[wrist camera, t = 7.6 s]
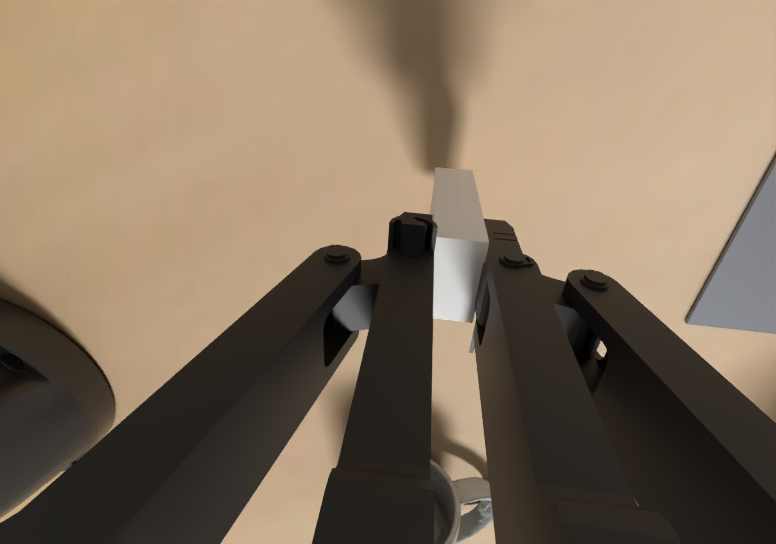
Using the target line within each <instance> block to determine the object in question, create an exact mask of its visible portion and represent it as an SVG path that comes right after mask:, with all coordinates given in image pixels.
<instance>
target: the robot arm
mask: <svg viewBox="0 0 776 544" xmlns="http://www.w3.org/2000/svg"><path fill="white" fill-rule="evenodd" d="M517 241H518V240H517V237H516V236H515V232H514V229H513V227H512V226H510V225H509V224H508V223H507V222H506V221H502V220H491V219H484V218H483V214H482V209H481V205H480V201H479V196H478V192H477V188H476V184H475V179H474V175H473V171H472V170H461V169H450V168H439V167H436V168H435V177H434V185H433V193H432V201H431V209H430V215H429V214H419V213H409V212H404V213H403V214H401V215H400V216H397V217H395V218H393V219H392V220H391V221H390V222H389V237H388V250H387V254H386V255H385V256H383V257H380V258H377V259H371V260H361V255H360V253H359V252H358V251H356V250H355V249H353V248H350V247H347V246H341V245H335V246H334V245H330V246H327V247H323V248H320V249H318V250H317V251H315V252H314V253H313V254H312V255H310V256H309V257H308V258H307V259H306V260H305V261H304V262H303V263H301V264H300V265H299V266H298V267H297V268H296V269H295V270H293V271H292V272H291V273H290V274H289V275H288V276H287V277H285V278H284V279H283V280H282V281H281V282H280V283H279V284H278V285H276V286H275V287H274V288H273V289H272V290H271V291H270V292H268V293H267V294H266V295H265V296H264V297H263V298H262V299H260V300H259V301H258V302H257V303H256V304H255V305H254V306H253V307H251V308H250V309H249V310H248V311H247V312H246V313H245V314H243V315H242V316H241V317H240V318H239V319H238V320H237V321H235V322H234V323H233V324H232V325H231V326H230V327H229V328H228V329H226V330H225V331H224V332H223V333H222V334H221V335H220V336H218V337H217V338H216V339H215V340H214V341H213V342H212V343H210V344H209V345H208V346H207V347H206V348H205V349H204V350H203V351H201V352H200V353H199V354H198V355H197V356H196V357H195V358H193V359H192V360H191V361H190V362H189V363H188V364H187V365H185V366H184V367H183V368H182V369H181V370H180V371H179V372H177V373H176V374H175V375H174V376H173V377H172V378H171V379H170V380H168V381H167V382H166V383H165V384H164V385H163V386H162V387H160V388H159V389H158V390H157V391H156V392H155V393H154V394H152V395H151V396H150V397H149V398H148V399H147V400H146V401H145V402H143V403H142V404H141V405H140V406H139V407H138V408H137V409H135V410H134V411H133V412H132V413H131V414H130V415H129V416H127V417H126V418H125V419H124V420H123V421H122V422H121V423H120V424H118V425H117V426H116V427H115V428H114V429H113V430H112V431H110V432H109V433H108V434H107V435H106V433H107V432H108V431H109V430H110V428H111V426H112V425H113V422H114V418H115V404H114V399H113V396H112V393H111V391H110V388H109V386H108V384H107V382H106V381H105V379H104V377H103V376H102V374H101V373H100V371H99V370H98V369H97V367H96V366H95V365H94V364H93V362H92V361H91V360H90V359H89V358H88V357H87V356H86V355H85V354H84V353H83V352H82V351H81V350H80V349H79V348H78V347H77V346H76V345H75V344H74V343H73V342H71V341H70V340H69V339H68V338H67V337H65V336H64V335H63V334H61V333H60V332H59V331H57V330H56V329H54V328H53V327H52V326H50V325H49V324H47V323H45V322H44V321H42V320H41V319H39V318H37V317H35V316H34V315H32V314H30V313H28V312H26V311H24V310H22V309H20V308H18V307H16V306H14V305H11V304H9V303H7V302H4V301H1V300H0V518H2V517H3V516H4V515H6V514H7V513H8V512H10V511H11V510H13V509H14V508H15V507H17V506H18V505H19V504H21V503H22V502H23V501H25V500H26V499H27V498H29V497H30V496H31V495H32V494H34V493H35V492H36V491H37V490H39V489H40V488H41V487H42V486H44V485H45V484H46V483H48V482H49V481H50V480H51V479H53V478H54V477H55V476H56V475H58V474H59V473H60V472H61V471H65V470H66V471H65V472H64V473H63V474H62V475H60V476H59V477H58V478H57V479H56V480H55V481H54V482H52V483H51V484H50V485H49V486H48V487H47V488H46V489H45V490H43V491H42V492H41V493H40V494H39V495H38V496H37V497H35V498H34V499H33V500H32V501H31V502H30V503H29V504H27V505H26V506H25V507H24V508H23V509H22V510H21V511H19V512H18V513H16V514H14V515H13V516H11V517H10V518H8V519H6V520H5V521H3V522H1V523H0V544H220V543H221V542H222V540H223V539H224V537H225V536H226V534H227V533H228V531H229V530H230V528H231V527H232V525H233V524H234V522H235V521H236V519H237V518H238V516H239V515H240V513H241V512H242V510H243V509H244V507H245V506H246V504H247V503H248V501H249V500H250V498H251V497H252V495H253V494H254V492H255V491H256V489H257V488H258V486H259V485H260V483H261V482H262V480H263V479H264V477H265V476H266V474H267V473H268V471H269V470H270V468H271V467H272V465H273V464H274V462H275V461H276V459H277V458H278V456H279V455H280V453H281V452H282V450H283V449H284V447H285V446H286V444H287V443H288V441H289V440H290V438H291V437H292V435H293V434H294V432H295V431H296V429H297V428H298V426H299V425H300V423H301V422H302V420H303V419H304V417H305V416H306V414H307V413H308V411H309V410H310V408H311V407H312V405H313V404H314V402H315V401H316V399H317V398H318V396H319V395H320V393H321V392H322V390H323V389H324V387H325V386H326V384H327V383H328V381H329V380H330V378H331V377H332V375H333V374H334V372H335V371H336V369H337V368H338V366H339V365H340V363H341V362H342V360H343V359H344V357H345V356H346V354H347V353H348V351H349V350H350V348H351V347H352V345H353V344H354V342H355V341H356V339H357V337H358V334H359V330H365V329H369V332H368V336H367V340H366V345H365V349H364V353H363V358H362V362H361V366H360V370H359V375H358V379H357V383H356V388H355V392H354V396H353V401H352V405H351V409H350V414H349V418H348V422H347V426H346V431H345V435H344V439H343V444H342V448H341V452H340V457H339V460H338V464H337V466H336V468H332V471H331V473H330V475H329V478H328V482H327V485H326V489H325V493H324V497H323V501H322V505H321V509H320V513H319V517H318V521H317V525H316V529H315V533H314V537H313V541H312V544H434V486H433V482H432V481H431V479H430V452H431V398H432V345H433V318H436V319H445V320H453V321H462V322H471V323H472V322H473V317H474V312H475V311H476V323H475V327H474V332H473V337H472V341H471V346H470V351H469V353H473V351H474V348H475V353H476V362H477V371H478V381H479V390H480V400H481V409H482V418H483V428H484V437H485V446H486V456H487V465H488V474H489V484H490V493H491V502H492V512H493V521H494V530H495V540H496V544H776V423H775V422H774V421H773V420H771V419H770V418H769V417H768V416H767V415H766V414H765V413H764V412H762V411H761V410H760V409H759V408H758V407H757V406H756V405H755V404H754V403H752V402H751V401H750V400H749V399H748V398H747V397H746V396H745V395H743V394H742V393H741V392H740V391H739V390H738V389H737V388H736V387H734V386H733V385H732V384H731V383H730V382H729V381H728V380H727V379H725V378H724V377H723V376H722V375H721V374H720V373H719V372H718V371H717V370H715V369H714V368H713V367H712V366H711V365H710V364H709V363H708V362H706V361H705V360H704V359H703V358H702V357H701V356H700V355H699V354H697V353H696V352H695V351H694V350H693V349H692V348H691V347H690V346H689V345H687V344H686V343H685V342H684V341H683V340H682V339H681V338H680V337H678V336H677V335H676V334H675V333H674V332H673V331H672V330H671V329H669V328H668V327H667V326H666V325H665V324H664V323H663V322H662V321H660V320H659V319H658V318H657V317H656V316H655V315H654V314H653V313H652V312H650V311H649V310H648V309H647V308H646V307H645V306H644V305H643V304H641V303H640V302H639V301H638V300H637V299H636V298H635V297H634V296H632V295H631V294H630V293H629V292H628V291H627V290H626V289H625V288H623V287H622V286H621V285H620V284H619V283H618V282H617V281H615V280H614V279H612V278H611V277H609V276H607V275H604V274H603V273H601V272H598V271H596V272H595V271H594V270H581V269H580V270H573V271H572V272H570V273H568V276H567V279H566V282H564V281H560V280H557V279H553V278H550V277H547V276H544V275H541V272H540V270H539V267H538V265H537V263H536V262H535V261H534V260H533V259H532V258H530V257H529V256H527V255H524V254H523V253H522V251H521V248H520V245H519V243H518V242H517ZM600 341H602V342H603V343H604V345H605V347H606V349H607V352H606V354H605V356H604V357H602V356H600V354H599V353H598V352H597V348H598V346H599V344H600ZM105 435H106V436H105ZM104 436H105V437H104ZM103 437H104V438H103ZM635 500H636V501H635ZM636 502H637V503H636ZM637 504H638V505H639V506H638V505H637Z"/></svg>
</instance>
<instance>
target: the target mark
mask: <svg viewBox="0 0 776 544" xmlns="http://www.w3.org/2000/svg"><path fill="white" fill-rule="evenodd" d="M685 322H686V323H687V324H692V325H701V326H710V327H719V328H728V329H737V330H746V331H755V332H764V333H773V334H776V157H775V158H774V160H773V162H772V164H771V166H770V168H769V169H768V171H767V173H766V175H765V177H764V178H763V180H762V182H761V184H760V186H759V188H758V189H757V191H756V193H755V195H754V197H753V198H752V200H751V202H750V204H749V206H748V208H747V209H746V211H745V213H744V215H743V217H742V218H741V220H740V222H739V224H738V226H737V228H736V229H735V231H734V233H733V235H732V237H731V238H730V240H729V242H728V244H727V246H726V248H725V249H724V251H723V253H722V255H721V257H720V259H719V260H718V262H717V264H716V266H715V268H714V269H713V271H712V273H711V275H710V277H709V279H708V280H707V282H706V284H705V286H704V288H703V289H702V291H701V293H700V295H699V297H698V299H697V300H696V302H695V304H694V306H693V308H692V309H691V311H690V313H689V315H688V317H687V319H686V320H685Z"/></svg>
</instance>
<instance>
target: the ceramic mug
mask: <svg viewBox="0 0 776 544" xmlns="http://www.w3.org/2000/svg"><path fill="white" fill-rule="evenodd" d="M430 479H431V481H432V482H433V486H434V544H456V543H459V542H461V541H463V540H465V539H468V538H470V537H472V536H474V535H475V534H477V533H479V532H480V531H481V530H482V529H484V528H485V527H486V526H487V525H488V524H489V523H490V522H491V521H492V520H493V512H492V502H491V493H490V484H489V482H488V481H487V480H485V479H483V478H478V477H471V478H465V479H460V480H456V481H452V480H451V479H450V477H449V475H448V474H447V473H446V472H445V471H444V469H443V468H442V467H441V466H439V465H438V464H437V463H436V462H434V461H433V460H431V459H430ZM479 500H481V501H480V503H479V504H478V505H477V506H476V507H475V508H474V509H473V510H471V511H470V512H468V513H465V514H464V515H462V516H461V507H460V506H461V505H464V504H466V503H471V502H475V501H479Z"/></svg>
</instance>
